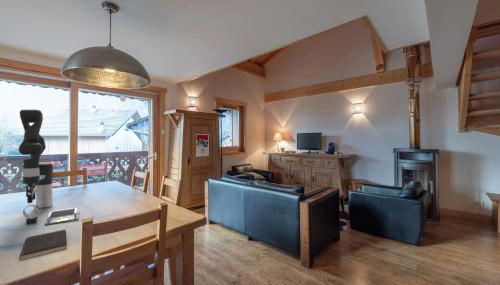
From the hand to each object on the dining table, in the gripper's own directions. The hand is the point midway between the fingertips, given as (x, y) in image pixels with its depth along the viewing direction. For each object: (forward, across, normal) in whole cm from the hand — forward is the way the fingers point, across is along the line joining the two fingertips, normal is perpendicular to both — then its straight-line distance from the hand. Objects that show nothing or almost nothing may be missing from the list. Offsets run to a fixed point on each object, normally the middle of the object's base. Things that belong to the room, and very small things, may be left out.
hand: (31, 201), depth 138 cm
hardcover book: (+14, +42, +12) cm, 46 cm away
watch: (+14, 0, 0) cm, 14 cm away
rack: (+13, +2, +15) cm, 20 cm away
